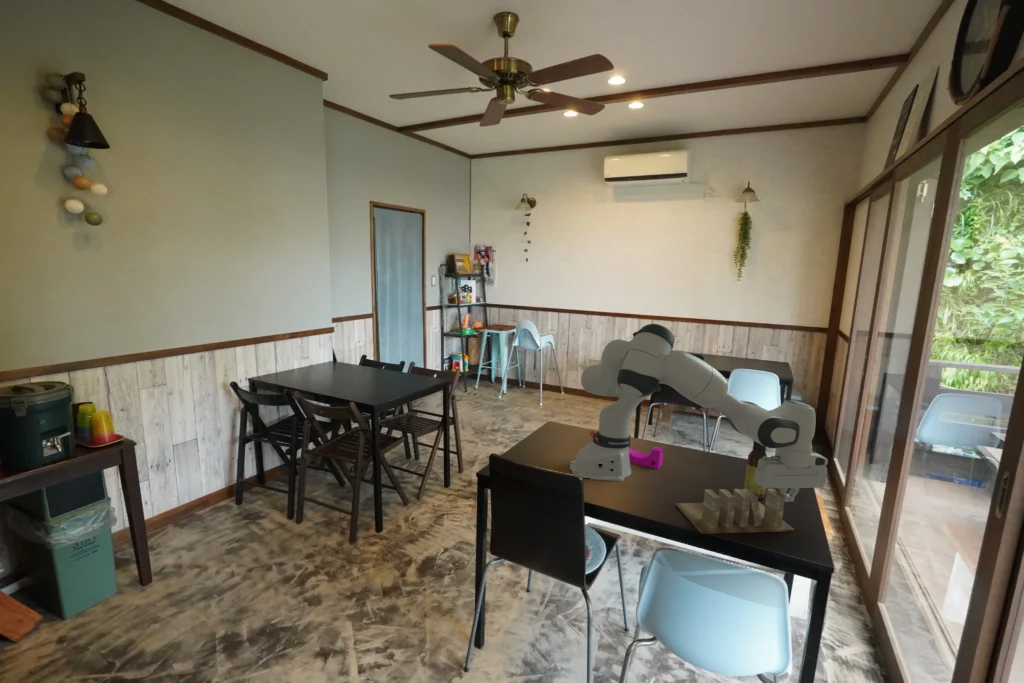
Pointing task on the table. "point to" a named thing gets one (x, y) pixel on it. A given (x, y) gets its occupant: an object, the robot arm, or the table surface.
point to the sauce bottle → (754, 469)
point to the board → (695, 517)
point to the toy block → (647, 457)
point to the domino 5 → (774, 507)
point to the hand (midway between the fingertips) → (787, 500)
